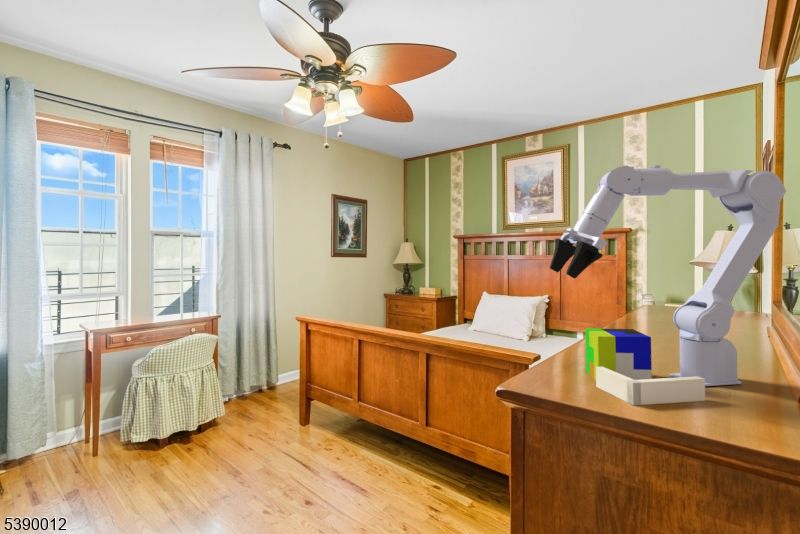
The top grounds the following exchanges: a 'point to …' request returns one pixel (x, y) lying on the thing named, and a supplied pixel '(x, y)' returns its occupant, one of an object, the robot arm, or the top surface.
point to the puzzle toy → (619, 352)
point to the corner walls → (650, 388)
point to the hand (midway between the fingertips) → (561, 273)
